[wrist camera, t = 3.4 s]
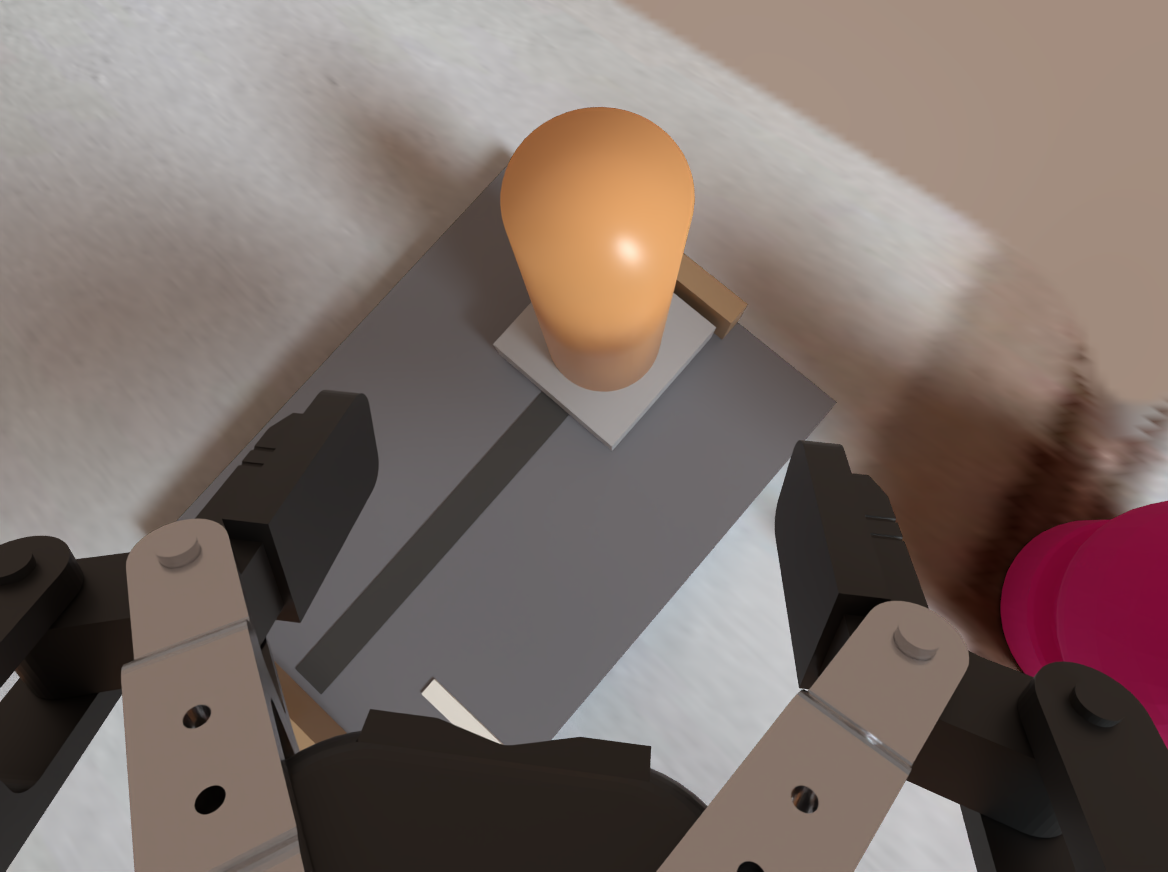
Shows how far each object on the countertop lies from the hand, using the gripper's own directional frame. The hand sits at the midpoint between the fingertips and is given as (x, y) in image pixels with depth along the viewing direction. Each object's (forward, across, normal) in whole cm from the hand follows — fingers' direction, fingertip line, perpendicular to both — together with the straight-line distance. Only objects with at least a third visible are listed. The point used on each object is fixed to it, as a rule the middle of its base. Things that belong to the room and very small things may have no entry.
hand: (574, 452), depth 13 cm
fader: (+10, 0, +3) cm, 10 cm away
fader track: (+8, +4, +8) cm, 12 cm away
